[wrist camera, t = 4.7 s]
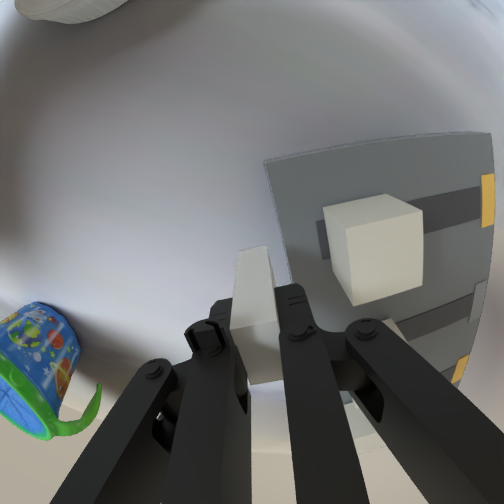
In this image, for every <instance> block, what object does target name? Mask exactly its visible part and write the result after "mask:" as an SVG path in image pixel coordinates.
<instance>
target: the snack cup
mask: <svg viewBox="0 0 504 504" xmlns="http://www.w3.org/2000/svg"><path fill="white" fill-rule="evenodd" d="M80 352H81V348H80V346H79V344H78V341H77V338H76V336H75V334H74V332H73V330H72V329H71V327H70V326H69V325H68V323H67V320H66V319H65V318H64V317H63V316H62V315H59V314H58V313H57V312H55V311H54V310H53V309H52V308H50V307H48V306H45V305H41V304H39V303H38V302H33V303H31V304H29V305H26V306H24V307H23V308H21V309H19V310H18V311H17V312H15V313H13V314H12V315H10V316H9V317H7V318H6V319H4V320H3V321H1V322H0V414H1V415H2V416H3V417H4V418H6V419H7V420H8V421H9V422H11V423H12V424H13V425H15V426H16V427H17V428H19V429H20V430H22V431H23V432H25V433H27V434H29V435H31V436H33V437H35V438H37V439H40V440H45V441H48V440H50V439H52V438H53V437H54V436H70V435H74V434H77V433H79V432H81V431H83V430H84V429H85V428H86V427H87V426H89V425H90V424H91V422H92V421H93V420H94V418H95V417H96V415H97V413H98V410H99V406H100V401H101V391H102V385H101V383H98V384H97V390H96V393H95V395H94V396H93V398H92V399H91V401H90V403H89V405H88V406H87V408H86V410H85V411H84V413H83V415H82V417H81V419H79V420H75V421H68V422H63V421H60V420H58V415H59V409H60V406H61V403H62V401H63V398H64V396H65V394H66V391H67V388H68V386H69V383H70V380H71V376H72V374H73V372H74V370H75V367H76V365H77V362H78V359H79V356H80Z"/></svg>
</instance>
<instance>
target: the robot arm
mask: <svg viewBox="0 0 504 504" xmlns="http://www.w3.org/2000/svg"><path fill="white" fill-rule="evenodd" d="M184 335H185V338H186V340H187V342H188V344H189V346H190V348H191V350H192V352H193V354H192V358H191V359H189V360H187V361H185V362H182V363H179V364H176V365H174V366H172V364H171V363H170V362H169V361H168V360H167V359H163V358H159V359H153V360H150V361H148V362H147V363H145V364H143V365H142V367H141V368H140V369H139V370H138V371H137V373H136V374H135V376H134V377H133V378H132V380H131V381H130V383H129V384H128V386H127V387H126V388H125V390H124V391H123V393H122V394H121V396H120V397H119V399H118V400H117V402H116V403H115V404H114V406H113V407H112V409H111V410H110V412H109V413H108V415H107V416H106V418H105V419H104V421H103V422H102V424H101V425H100V427H99V428H98V430H97V431H96V433H95V434H94V436H93V437H92V438H91V440H90V442H89V443H88V445H87V446H86V448H85V449H84V451H83V452H82V454H81V455H80V457H79V458H78V460H77V462H76V463H75V464H74V466H73V467H72V469H71V471H70V472H69V474H68V475H67V477H66V478H65V480H64V481H63V483H62V485H61V486H60V488H59V489H58V491H57V493H56V494H55V496H54V497H53V499H52V500H51V502H50V504H160V503H161V504H252V492H251V490H252V488H251V486H252V485H251V395H250V391H249V389H248V387H247V377H248V380H249V382H250V385H255V384H261V383H267V382H272V381H278V380H284V388H285V397H286V406H287V415H288V424H289V433H290V442H291V451H292V461H293V470H294V480H295V489H296V501H297V504H370V503H369V499H368V494H367V491H366V486H365V482H364V478H363V474H362V470H361V466H360V463H359V459H358V455H357V451H356V448H355V444H354V440H353V437H352V433H351V429H350V426H349V422H348V419H347V415H346V412H345V409H344V405H343V402H342V398H341V395H340V392H339V391H348V392H349V394H350V396H351V397H352V398H353V400H354V401H355V403H356V404H357V405H358V407H359V408H360V409H361V411H362V412H363V414H364V415H365V416H366V418H367V419H368V421H369V422H370V423H371V425H372V426H373V427H374V429H375V430H376V432H377V433H378V434H379V436H380V437H381V438H382V440H383V441H384V443H385V444H386V445H387V447H388V448H389V450H390V451H391V452H392V454H393V455H394V456H395V458H396V459H397V461H398V462H399V463H400V465H401V466H402V467H403V469H404V470H405V472H406V473H407V474H408V476H409V477H410V478H411V480H412V481H413V482H414V484H415V485H416V487H417V488H418V489H419V491H420V492H421V493H422V494H423V496H424V498H425V499H426V500H427V501H428V503H429V504H504V433H503V432H502V431H501V430H500V429H499V428H498V427H497V426H496V425H495V424H494V423H493V422H492V421H491V420H489V418H487V417H486V416H485V415H484V414H483V413H482V412H481V411H480V410H479V409H478V408H477V407H476V406H475V405H474V404H473V403H472V402H471V401H470V400H469V399H467V397H466V396H464V395H463V394H462V393H461V392H460V391H459V390H458V389H457V388H456V387H455V386H454V385H453V384H452V383H451V382H449V381H448V380H447V379H446V378H445V377H444V376H443V375H442V374H441V373H440V372H439V371H437V370H436V369H435V368H434V367H433V366H432V365H431V364H430V363H429V362H428V361H426V360H425V359H424V358H423V357H422V356H421V355H420V354H419V353H418V352H416V351H415V350H414V349H413V348H412V347H411V346H410V345H408V344H407V343H406V342H405V341H404V340H403V339H402V338H401V337H399V336H398V335H397V334H396V333H395V332H394V331H393V330H391V329H390V328H389V327H388V326H387V325H386V324H384V323H383V322H381V321H380V320H378V319H373V318H362V319H359V320H356V321H354V322H352V323H351V324H349V325H348V327H347V328H346V330H345V332H329V331H325V330H323V329H321V328H319V327H318V326H317V324H316V323H315V320H314V317H313V314H312V311H311V308H310V305H309V302H308V299H307V296H306V293H305V290H304V288H303V287H302V286H301V285H299V284H298V283H294V284H290V285H285V286H281V287H276V284H275V279H274V275H273V271H272V267H271V263H270V258H269V254H268V250H267V246H266V245H264V246H260V247H256V248H251V249H247V250H242V251H238V256H237V265H236V274H235V283H234V292H233V298H228V299H224V300H218V301H216V302H215V304H214V305H213V306H212V307H211V309H210V314H209V318H208V319H204V320H200V321H198V322H196V323H194V324H192V325H191V326H190V327H188V328H187V329H186V331H185V333H184ZM159 412H160V413H161V415H160V416H159V417H158V419H156V418H157V416H158V414H159ZM161 501H162V502H161Z"/></svg>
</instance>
